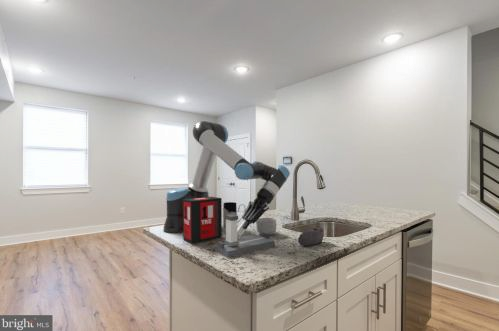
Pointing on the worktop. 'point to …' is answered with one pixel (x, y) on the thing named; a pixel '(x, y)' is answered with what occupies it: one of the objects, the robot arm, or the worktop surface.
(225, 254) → the fader console
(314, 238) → the perforated stone tool
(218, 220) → the cleaning product box
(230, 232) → the fader knob
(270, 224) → the teacup
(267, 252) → the worktop surface
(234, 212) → the glass holder
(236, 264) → the worktop surface
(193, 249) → the worktop surface
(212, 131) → the robot arm
